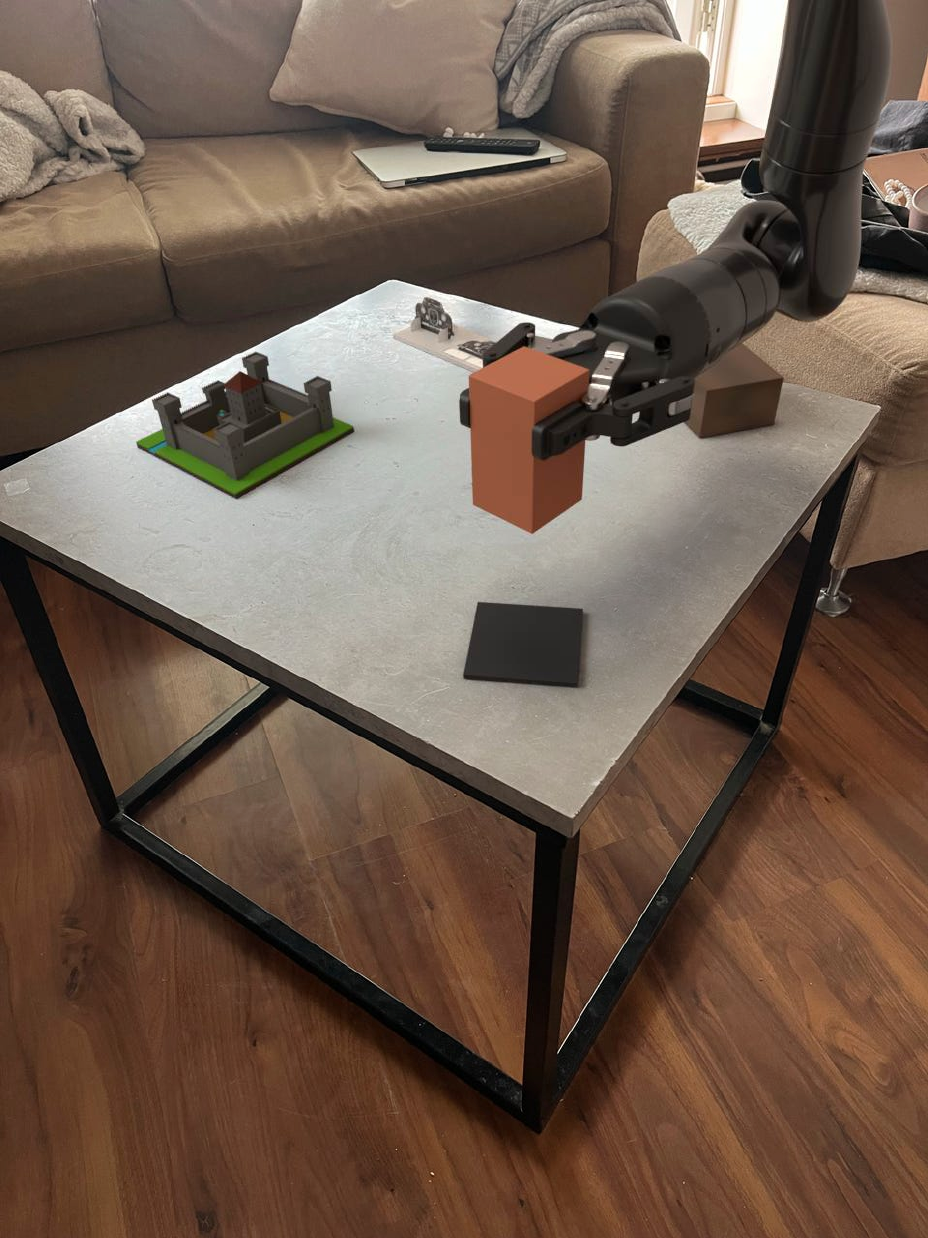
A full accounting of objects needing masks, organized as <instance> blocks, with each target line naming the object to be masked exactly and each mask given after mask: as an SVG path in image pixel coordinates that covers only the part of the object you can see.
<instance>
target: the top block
mask: <svg viewBox="0 0 928 1238" xmlns="http://www.w3.org/2000/svg"><path fill="white" fill-rule="evenodd" d="M589 372H590V370H589V369H586V368H583V367H581V366H578V365H575V364H572V363H569V362H567V361H564V360H561V359H558V358H555V357H553V356H550V355H547V354H544V353H541V352H539V351H536V350H533V349H530V348H527V347H522V348H520V349H518V350H516V351H514V352H512V353H510V354H508V355H507V356H505V357H503V358H501V359H499V360H497V361H495V362H493V363H491V364H489V365H488V366H486V367H484V368H482V369H480V370H478V371H476V372H472V373H470V374H469V375H468V388H469V401H470V428H469V429H470V432H469V433H470V460H471V461H470V462H471V463H470V464H471V492H472V505H473V506H475V508H478V509H480V510H482V511H485V512H487V513H489V514H491V515H493V516H495V517H497V518H499V519H501V520H502V521H505V522H507V523H509V524H510V525H513V526H515V527H517V528H519V529H521V530H523V531H524V532H526V533H529V534H531V535H533V534H535V533H536V532H537V531H539V530H540V529H542V528H544V527H545V526H546V525H548V524H549V523H551V522H552V521H553V520H554V519H556V518H558V517H559V516H560V515H562V514H564V513H565V512H567V510H569V509H571V508H572V507H573V506H575V505H576V504H577V503H580V501H582V500H583V489H584V488H583V486H584V472H585V471H584V470H585V468H584V467H585V455H586V440H583V441H581V442H580V443H578V444H577V445H575V446H573V447H572V448H571V449H568V450H567V451H566V452H564V453H563V454H560V455H556V456H551V457H550V458H548V459H547V460H545V461H543V460H540V459H538V458H536V457H534V456H532V452H531V450H532V429H533V427H534V425H535V424H536V423H537V422H539V421H541V420H542V419H544V418H546V417H547V416H549V415H551V414H552V413H554V412H556V411H557V410H559V409H561V408H562V407H564V406H566V405H567V404H569V403H571V402H572V401H575V402H578V403H580V404H581V402H582V397H583V395H584V394H585V392H586V391H588V389H589Z"/></svg>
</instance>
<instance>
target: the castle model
mask: <svg viewBox="0 0 928 1238" xmlns="http://www.w3.org/2000/svg"><path fill="white" fill-rule="evenodd" d="M241 362H242V367H243V369H246V373H245V372H243V371H241V370H239V371H238V372H237V373H236V374H234V375H233V376H232V377H230V379H228V380H227V381H226V382H223V381H221V380H219V379H217V380H215V381H213V382H211V383H209V384H207V385H204V386H203V387H201V390H202V394H203V395H205V400H204V401H201V402H199V403H198V404H196V405H193V406H192V407H190V408H188V409H185V410H183V411H181V408H182V407H183V406H182V403H181V399H180V398H181V397H179V396H176V395H174V394H173V393H170V392H166V393H164V394H162V395H159V396H157V397H156V396H155V398H152V399H151V402H152V406H153V409H154V410H155V411H157V414H158V418H159V421H160V425H161V429H159V430H157V431H155V432H153V433H151V434H149V435H147V436H144V437H143V438H140V439H139V440H137V441H135V443H136V447H137V448H139V449H141V450H142V451H144V452H146V453H148V454H149V455H152V456H154V457H156V458H157V459H159V460H161V461H163V462H165V463H167V464H169V465H171V466H172V467H175V468H177V469H178V470H180V471H182V472H184V473H186V474H188V475H190V476H192V477H194V478H196V479H197V480H200V481H201V482H203V483H204V484H207V485H208V486H210V487H212V488H214V489H217V490H219V491H220V492H222V493H224V494H225V495H228V496H230V497H231V498H234V499H236V500H237V499H239V498H241V497H243V496H244V495H245V494H247V493H249V492H251V491H253V490H255V489H256V488H258V487H260V486H262V485H263V484H265V483H266V482H269V481H270V480H272V479H273V478H275V477H277V476H279V475H281V474H282V473H284V472H286V471H287V470H289V469H291V468H293V467H294V466H296V465H298V464H300V463H301V462H303V461H305V460H307V459H309V458H311V457H312V456H314V455H315V454H317V453H319V452H320V451H321V452H322V450H324V449H326V448H327V447H329V446H331V445H333V444H335V443H337V442H338V441H340V440H341V439H344V438H346V437H347V436H349V435H350V434H352V433H354V432H355V427H354V425H352V424H350V423H348V422H345V421H342V420H340V419H338V418H335V417H333V416H334V415H333V408H332V402H331V401H332V399H331V393H330V392H332V391H333V390H332V382H331V380H329V379H326V378H324V377H321V376H319V375H316V376H314V377H313V378H310V379H309V380H307V381H305V382H303V389H304V392H301V391H299V390H296V389H294V388H291V387H290V386H287V385H284V384H282V383H280V382H277V381H275V380H272V379H270V377H269V371H268V367H269V366H270V362H269V356H268V355H266V354H263V353H260V352H258V351H254V352H251V353H248V354H247V355H245V356H242V357H241Z"/></svg>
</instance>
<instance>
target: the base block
mask: <svg viewBox="0 0 928 1238" xmlns="http://www.w3.org/2000/svg"><path fill="white" fill-rule="evenodd" d="M694 380H695V386H694V396H693V403H692V408H691V414H690V419H689V420H688V421H686V422H684V424H685V425H687V427H688V428H689V429H690V430H691V431H692V432H693V433H694V434H695V435H696V436H697V437H698V438H699V439H702V438H707V437H712V436H713V437H714V436H718V435H719V436H720V435H723V434H729V433H734V432H740V431H745V430H751V429H752V430H753V429H757V428H762V427H767V426H774V425H775V422H776V417H777V413H778V408H779V404H780V403H779V402H780V399H781V394H782V390H783V385H784V380H785V377H784V376H783V375H781V373H779V372H778V370H775V368H773V367H772V366H771V365H769V363H767V362H766V361H765V360H764V359H762V357H760V356H759V355H757V354H756V352H754V351H753V350H751V349H750V348H749V347H748V346H747V345H745V344H744V342H743V343H741V344H740V345H738V346H737V347H735V348H734V349H732V350H731V351H729V352H728V353H726V354H725V355H724V357H723V358H722V359H721V360H720V361H718V362H717V363H716V364H715V365H714V366H712V367H711V368H710V369H708V370H707V371H705V372H703V373H702V374H700V375H699V376H697V377H696V378H694Z"/></svg>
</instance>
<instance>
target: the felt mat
mask: <svg viewBox="0 0 928 1238" xmlns="http://www.w3.org/2000/svg"><path fill="white" fill-rule="evenodd" d="M583 611H584V609H583V608H579V607H578V608H577V607H563V606H549V605H531V604H517V603H502V602H501V603H500V602H487V601H477V603H476V609H475V614H474V618H473V623H472V624H473V625H472V628H471V634H470V638H469V644H468V648H467V653H466V657H465V663H464V668H463V673H462V678H463V679H465V680H479V681H480V680H481V681H492V682H505V683H518V684H531V685H542V686H543V685H545V686H555V687H556V686H557V687H570V688H578V686H579V673H580V659H581V658H580V657H581V644H582V639H581V638H582V627H583V614H584V613H583Z"/></svg>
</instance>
